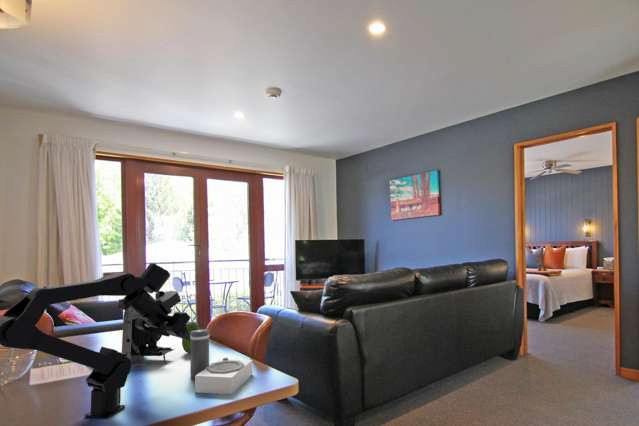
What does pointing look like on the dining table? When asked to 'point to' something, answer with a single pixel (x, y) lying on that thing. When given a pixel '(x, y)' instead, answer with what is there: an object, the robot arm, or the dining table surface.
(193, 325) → the avocado
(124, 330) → the vintage camera
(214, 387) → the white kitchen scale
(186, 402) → the dining table surface
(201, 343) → the lens
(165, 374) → the dining table surface
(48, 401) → the dining table surface
